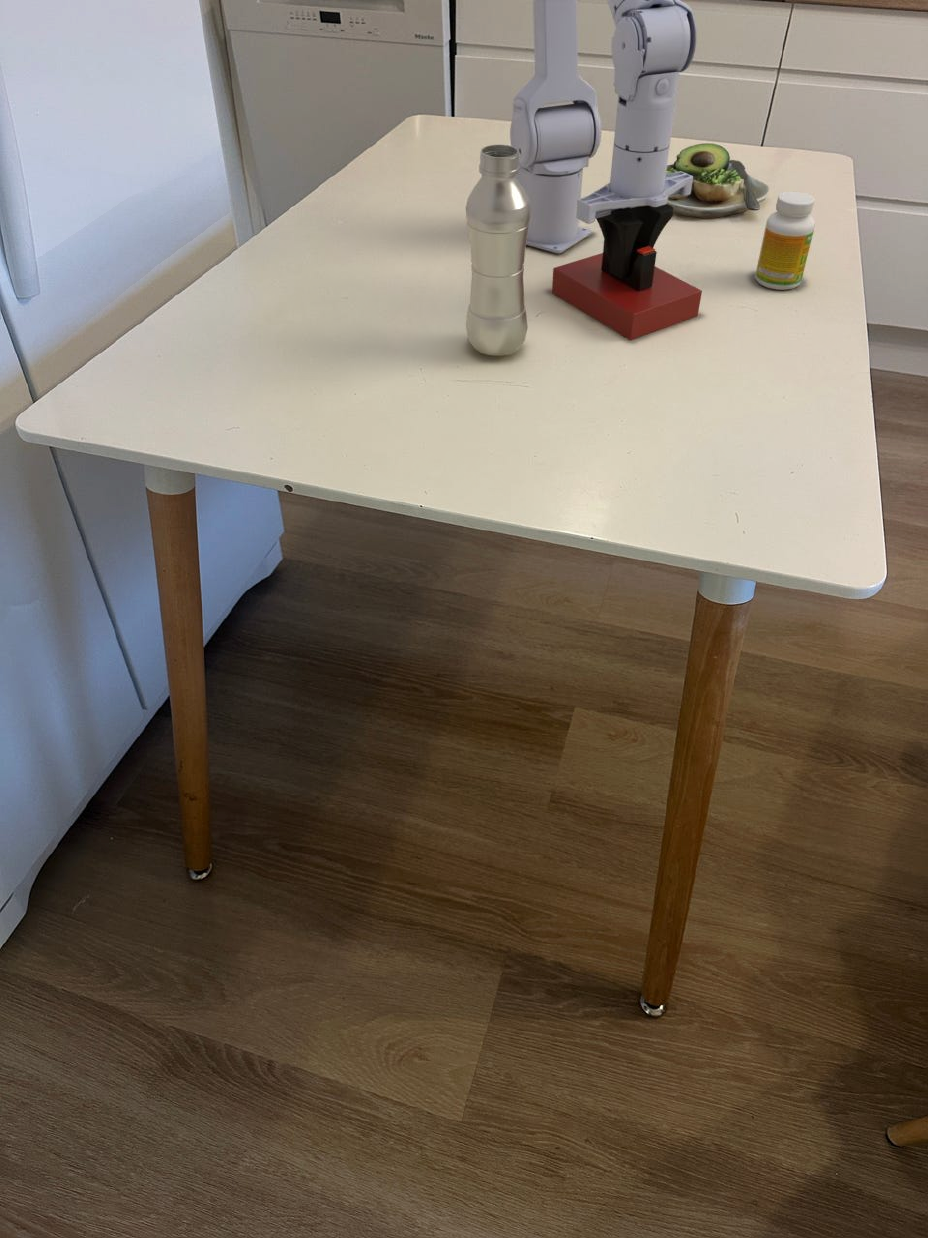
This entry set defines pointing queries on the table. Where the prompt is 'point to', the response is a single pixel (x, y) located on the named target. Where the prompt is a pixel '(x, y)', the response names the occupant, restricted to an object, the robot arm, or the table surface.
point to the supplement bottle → (786, 242)
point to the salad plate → (715, 183)
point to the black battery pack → (635, 266)
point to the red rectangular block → (625, 298)
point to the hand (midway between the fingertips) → (626, 271)
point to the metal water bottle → (497, 253)
